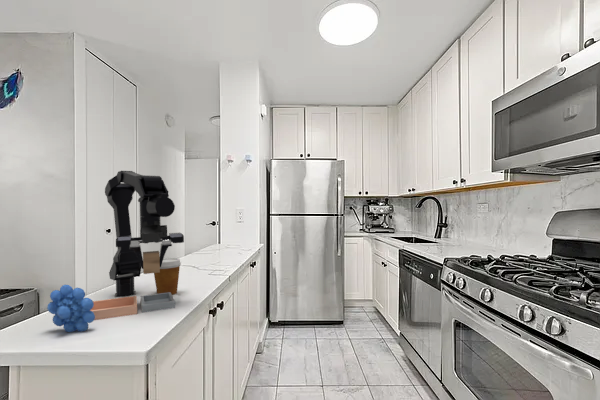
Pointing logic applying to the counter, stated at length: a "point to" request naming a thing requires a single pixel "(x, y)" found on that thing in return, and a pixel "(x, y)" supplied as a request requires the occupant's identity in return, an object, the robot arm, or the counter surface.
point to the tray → (157, 302)
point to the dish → (114, 307)
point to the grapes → (71, 308)
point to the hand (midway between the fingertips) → (151, 267)
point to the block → (151, 262)
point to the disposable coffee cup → (168, 276)
